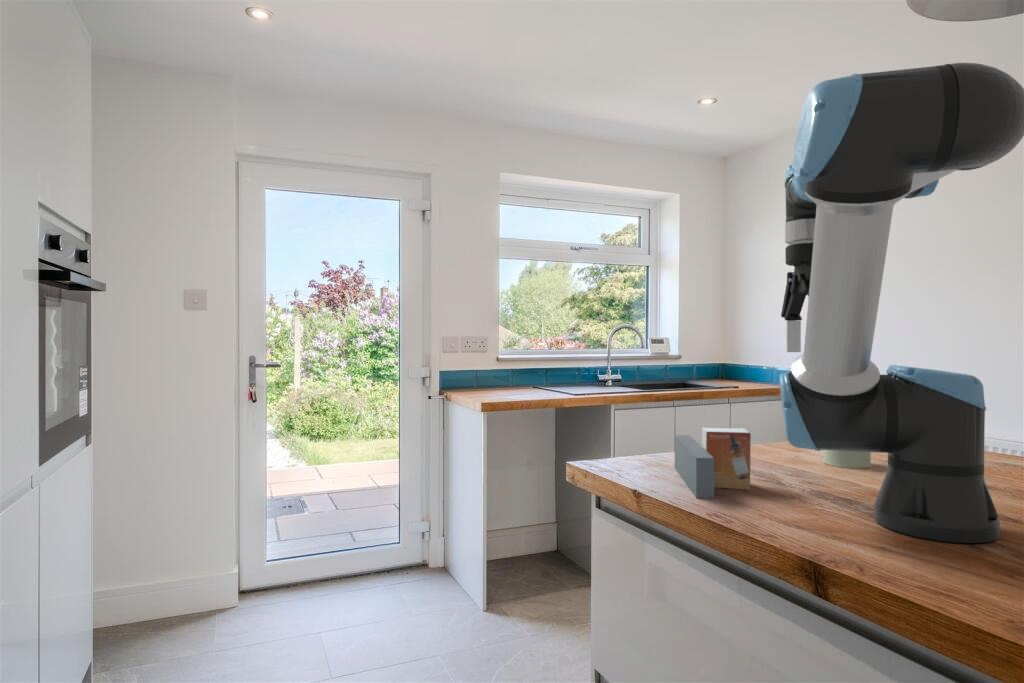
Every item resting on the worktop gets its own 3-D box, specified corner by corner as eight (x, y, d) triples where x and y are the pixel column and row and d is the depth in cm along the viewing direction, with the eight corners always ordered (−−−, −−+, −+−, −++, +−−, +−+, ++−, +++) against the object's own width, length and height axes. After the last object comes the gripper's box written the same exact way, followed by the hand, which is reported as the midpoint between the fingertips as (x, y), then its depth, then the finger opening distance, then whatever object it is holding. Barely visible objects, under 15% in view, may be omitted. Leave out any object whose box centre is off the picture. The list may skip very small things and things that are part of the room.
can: (880, 468, 128) (880, 411, 128) (836, 468, 129) (836, 411, 128) (856, 459, 138) (856, 406, 138) (815, 459, 138) (815, 406, 138)
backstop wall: (714, 498, 106) (714, 458, 106) (696, 498, 106) (696, 457, 106) (689, 468, 130) (689, 435, 130) (674, 467, 130) (674, 434, 130)
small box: (705, 488, 113) (705, 431, 113) (701, 481, 119) (701, 426, 119) (751, 490, 112) (751, 432, 112) (744, 482, 117) (744, 427, 117)
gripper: (857, 233, 107) (857, 355, 107) (801, 252, 132) (801, 351, 132) (813, 234, 107) (813, 355, 108) (765, 252, 132) (765, 351, 133)
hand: (806, 353), depth 120 cm, fingers open, 13 cm apart
